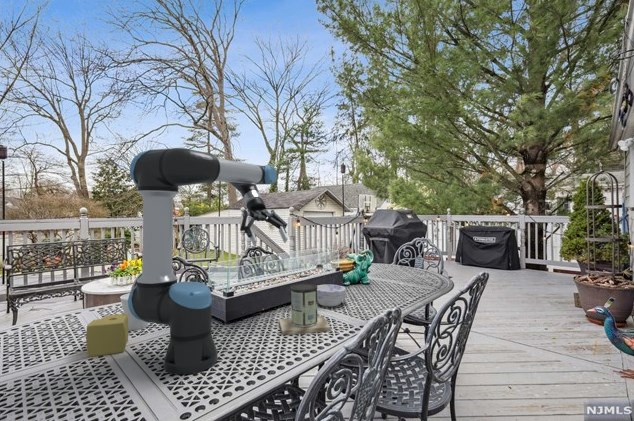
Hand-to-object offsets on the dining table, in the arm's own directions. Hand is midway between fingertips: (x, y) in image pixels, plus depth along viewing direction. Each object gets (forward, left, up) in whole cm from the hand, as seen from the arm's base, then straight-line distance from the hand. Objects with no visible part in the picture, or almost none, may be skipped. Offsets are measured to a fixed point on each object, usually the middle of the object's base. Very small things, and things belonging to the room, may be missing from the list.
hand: (271, 241), depth 135 cm
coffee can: (+12, -5, -31) cm, 34 cm away
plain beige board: (+12, -5, -33) cm, 35 cm away
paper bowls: (+29, +22, -33) cm, 49 cm away
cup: (-51, +8, -33) cm, 61 cm away
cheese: (-54, -12, -33) cm, 64 cm away
